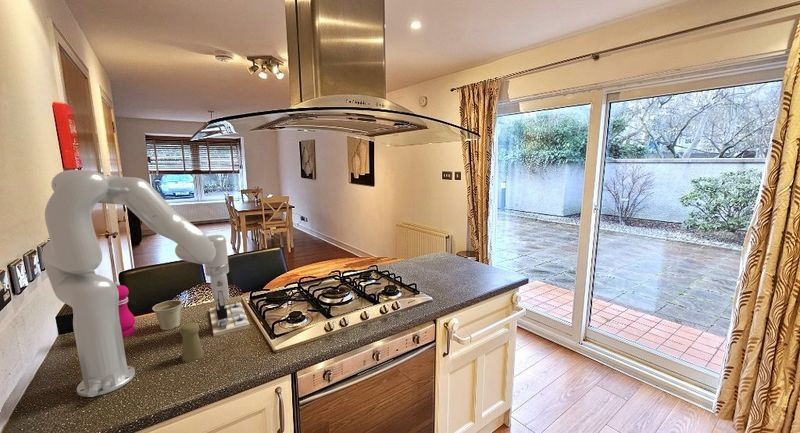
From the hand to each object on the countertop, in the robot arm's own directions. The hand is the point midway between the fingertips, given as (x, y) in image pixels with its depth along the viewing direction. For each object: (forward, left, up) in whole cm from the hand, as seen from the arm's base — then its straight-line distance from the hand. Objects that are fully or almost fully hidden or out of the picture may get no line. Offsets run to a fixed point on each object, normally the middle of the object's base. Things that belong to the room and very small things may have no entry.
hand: (222, 315), depth 127 cm
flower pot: (+13, +17, -5) cm, 22 cm away
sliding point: (0, -2, -3) cm, 4 cm away
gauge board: (+7, -3, -5) cm, 9 cm away
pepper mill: (+15, +31, -5) cm, 35 cm away
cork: (-15, +10, -5) cm, 19 cm away
